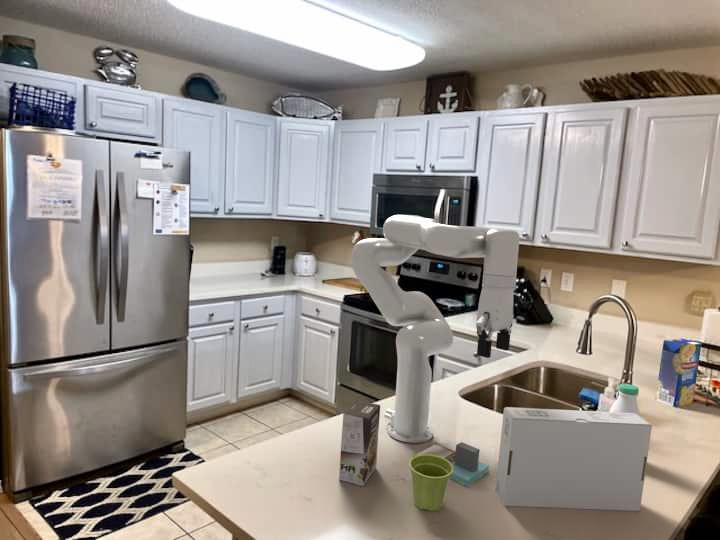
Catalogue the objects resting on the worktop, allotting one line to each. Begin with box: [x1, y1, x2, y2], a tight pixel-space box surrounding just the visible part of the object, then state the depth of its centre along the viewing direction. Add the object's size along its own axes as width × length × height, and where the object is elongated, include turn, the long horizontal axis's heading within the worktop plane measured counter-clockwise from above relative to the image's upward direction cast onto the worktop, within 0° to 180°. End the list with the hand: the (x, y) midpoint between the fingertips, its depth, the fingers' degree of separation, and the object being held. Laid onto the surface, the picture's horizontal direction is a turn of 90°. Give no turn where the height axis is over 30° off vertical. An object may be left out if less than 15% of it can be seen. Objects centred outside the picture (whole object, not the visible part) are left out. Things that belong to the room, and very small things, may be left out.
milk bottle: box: [609, 383, 642, 418], centre depth 134 cm, size 8×8×20 cm
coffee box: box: [338, 400, 381, 487], centre depth 118 cm, size 9×6×16 cm
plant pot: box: [408, 455, 454, 512], centre depth 108 cm, size 9×9×9 cm
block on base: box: [449, 441, 490, 487], centre depth 122 cm, size 7×10×6 cm
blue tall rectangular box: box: [655, 338, 702, 408], centre depth 179 cm, size 7×11×22 cm, turn 117°
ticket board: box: [412, 442, 456, 463], centre depth 127 cm, size 8×10×2 cm
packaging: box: [495, 406, 653, 512], centre depth 112 cm, size 30×6×20 cm, turn 92°
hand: (493, 352), depth 120 cm, fingers open, 9 cm apart
